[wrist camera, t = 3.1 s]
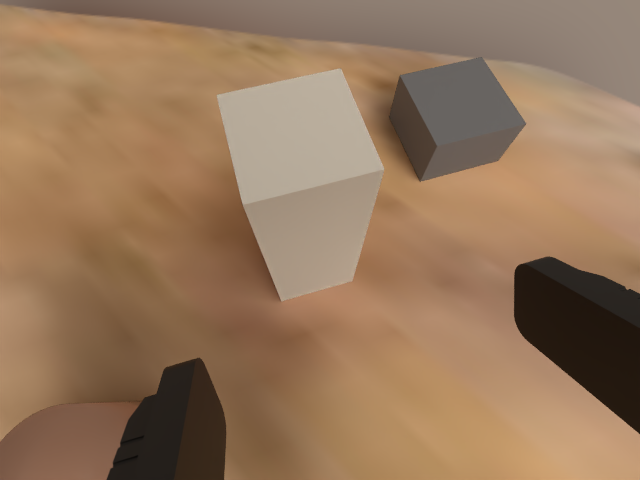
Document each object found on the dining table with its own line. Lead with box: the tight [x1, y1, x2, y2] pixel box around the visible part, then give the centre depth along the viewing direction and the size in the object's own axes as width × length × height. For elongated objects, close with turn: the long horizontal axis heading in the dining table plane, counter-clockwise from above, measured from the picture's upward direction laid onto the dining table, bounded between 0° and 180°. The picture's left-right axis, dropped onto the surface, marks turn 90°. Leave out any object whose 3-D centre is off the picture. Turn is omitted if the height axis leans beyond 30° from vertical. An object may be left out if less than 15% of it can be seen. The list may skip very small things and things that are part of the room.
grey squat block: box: [389, 57, 526, 182], centre depth 25 cm, size 6×6×4 cm
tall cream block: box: [217, 68, 384, 301], centre depth 17 cm, size 4×4×12 cm
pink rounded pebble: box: [0, 401, 142, 480], centre depth 15 cm, size 5×5×7 cm
